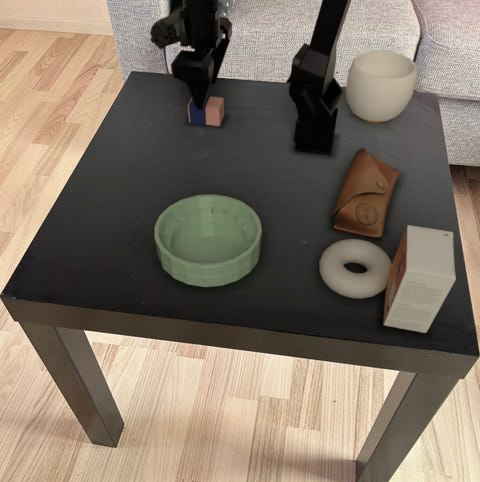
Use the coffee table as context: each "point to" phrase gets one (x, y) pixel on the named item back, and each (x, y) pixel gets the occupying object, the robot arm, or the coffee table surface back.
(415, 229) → the small box
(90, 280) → the coffee table surface
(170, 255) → the bowl
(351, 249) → the donut
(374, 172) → the sunglasses case
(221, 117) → the eraser
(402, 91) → the cup
